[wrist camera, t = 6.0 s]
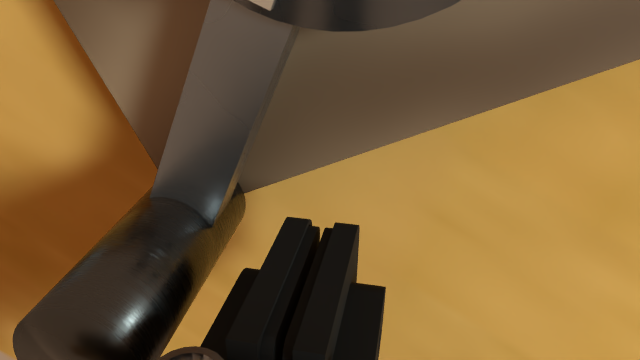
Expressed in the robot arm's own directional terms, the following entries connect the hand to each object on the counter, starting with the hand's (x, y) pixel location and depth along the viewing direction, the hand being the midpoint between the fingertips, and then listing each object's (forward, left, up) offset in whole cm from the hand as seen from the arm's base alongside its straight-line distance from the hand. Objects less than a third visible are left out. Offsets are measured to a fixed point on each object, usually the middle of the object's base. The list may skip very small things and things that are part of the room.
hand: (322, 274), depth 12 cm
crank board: (+9, -4, -5) cm, 11 cm away
